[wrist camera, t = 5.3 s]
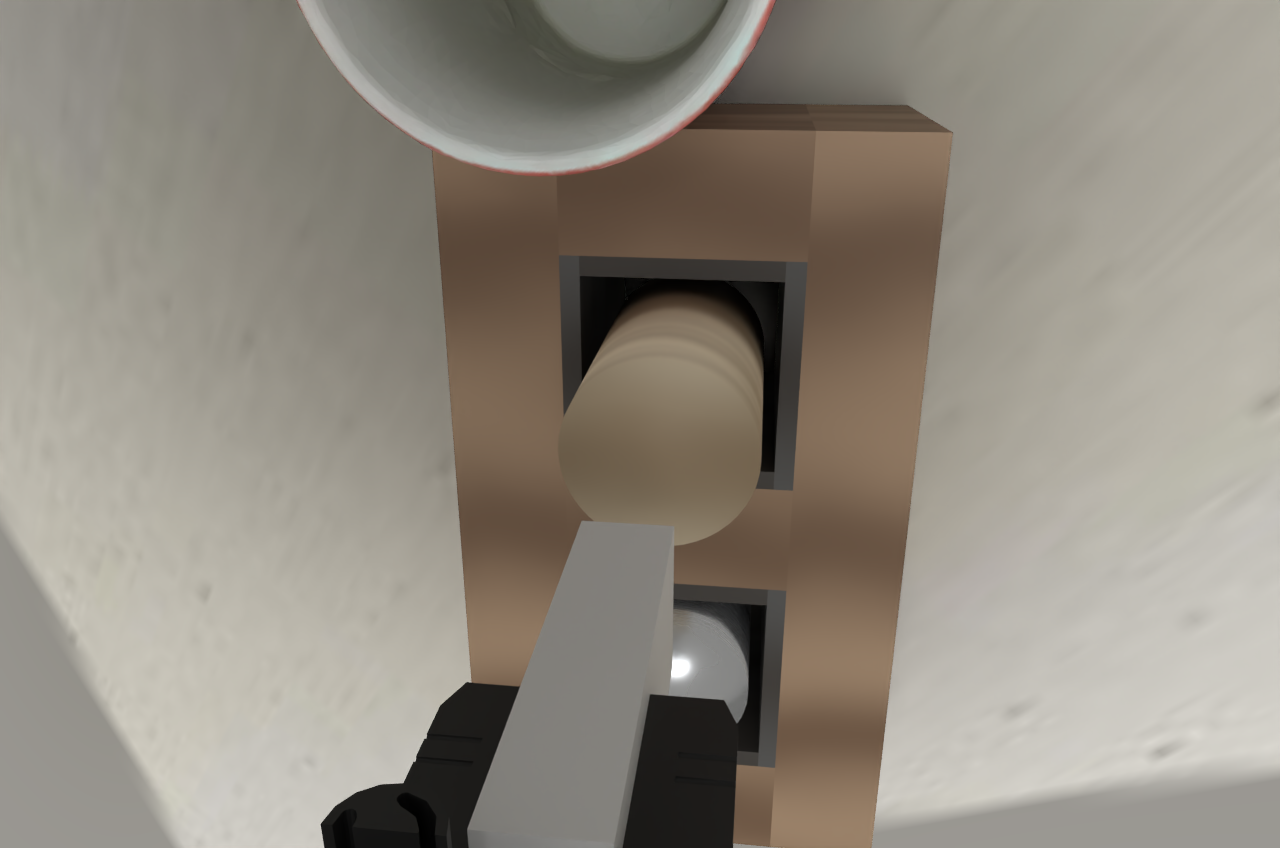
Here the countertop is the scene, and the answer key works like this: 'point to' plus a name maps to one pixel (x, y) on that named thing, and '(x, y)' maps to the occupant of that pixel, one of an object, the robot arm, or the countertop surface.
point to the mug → (538, 72)
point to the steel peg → (711, 652)
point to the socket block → (791, 425)
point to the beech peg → (670, 412)
